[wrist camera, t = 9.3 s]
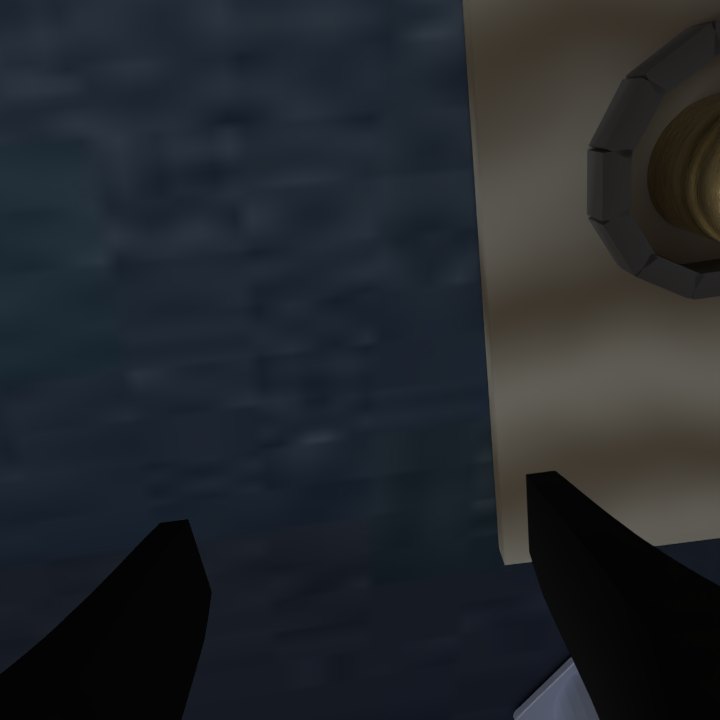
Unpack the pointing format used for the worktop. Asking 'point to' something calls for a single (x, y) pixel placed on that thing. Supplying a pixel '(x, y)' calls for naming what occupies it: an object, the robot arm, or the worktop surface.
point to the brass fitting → (689, 170)
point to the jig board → (594, 261)
